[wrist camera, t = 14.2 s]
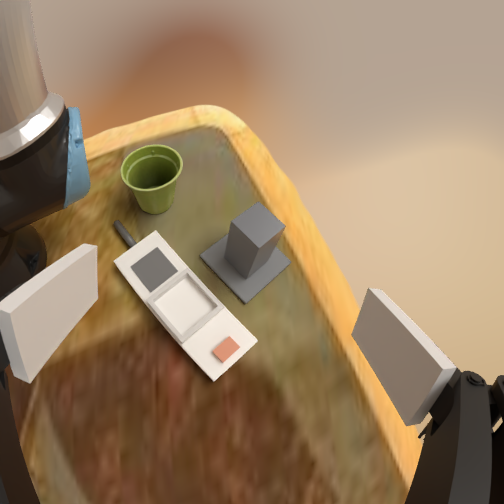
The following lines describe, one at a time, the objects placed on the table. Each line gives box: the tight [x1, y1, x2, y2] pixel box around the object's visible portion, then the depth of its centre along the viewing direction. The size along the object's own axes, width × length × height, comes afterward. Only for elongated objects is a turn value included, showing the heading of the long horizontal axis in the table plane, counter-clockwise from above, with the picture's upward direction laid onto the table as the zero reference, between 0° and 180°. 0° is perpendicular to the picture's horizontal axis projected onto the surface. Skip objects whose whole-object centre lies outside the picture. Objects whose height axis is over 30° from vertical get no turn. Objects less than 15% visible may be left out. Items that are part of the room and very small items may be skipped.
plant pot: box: [121, 145, 183, 214], centre depth 43 cm, size 9×9×9 cm
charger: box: [224, 201, 286, 280], centre depth 40 cm, size 5×5×10 cm
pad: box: [200, 233, 291, 304], centre depth 45 cm, size 10×10×1 cm
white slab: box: [113, 220, 258, 382], centre depth 39 cm, size 28×8×3 cm, turn 45°
